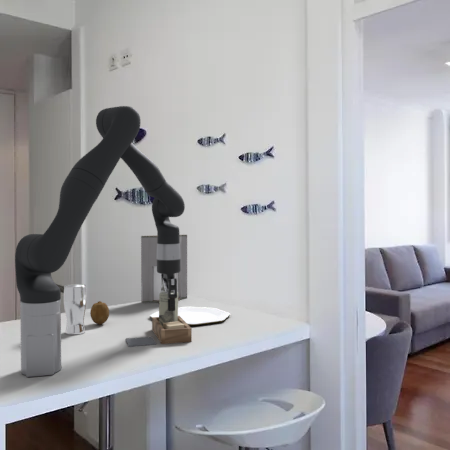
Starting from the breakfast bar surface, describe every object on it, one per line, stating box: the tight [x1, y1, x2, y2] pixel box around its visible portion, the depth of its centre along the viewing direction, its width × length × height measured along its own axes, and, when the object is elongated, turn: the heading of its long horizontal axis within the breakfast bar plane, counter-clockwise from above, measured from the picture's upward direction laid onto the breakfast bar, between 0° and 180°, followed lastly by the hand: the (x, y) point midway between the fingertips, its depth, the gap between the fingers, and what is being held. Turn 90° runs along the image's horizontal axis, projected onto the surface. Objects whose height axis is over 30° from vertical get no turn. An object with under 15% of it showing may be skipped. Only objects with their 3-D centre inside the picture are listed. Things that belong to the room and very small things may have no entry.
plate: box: [149, 306, 231, 326], centre depth 179 cm, size 28×28×2 cm
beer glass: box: [63, 283, 88, 336], centre depth 157 cm, size 7×7×15 cm
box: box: [158, 291, 179, 327], centre depth 158 cm, size 5×4×13 cm
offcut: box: [163, 321, 184, 329], centre depth 149 cm, size 5×5×2 cm
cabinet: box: [140, 234, 188, 304], centre depth 209 cm, size 21×10×28 cm, turn 122°
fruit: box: [90, 300, 110, 326], centre depth 168 cm, size 6×6×8 cm
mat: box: [125, 336, 157, 347], centre depth 146 cm, size 8×8×1 cm
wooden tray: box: [151, 316, 193, 345], centre depth 154 cm, size 18×9×4 cm, turn 17°
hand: (168, 308), depth 158 cm, fingers open, 8 cm apart
